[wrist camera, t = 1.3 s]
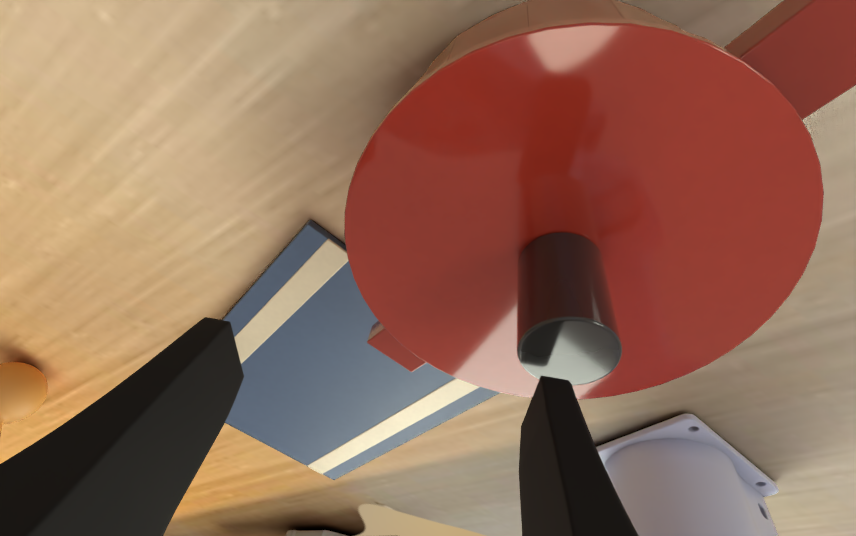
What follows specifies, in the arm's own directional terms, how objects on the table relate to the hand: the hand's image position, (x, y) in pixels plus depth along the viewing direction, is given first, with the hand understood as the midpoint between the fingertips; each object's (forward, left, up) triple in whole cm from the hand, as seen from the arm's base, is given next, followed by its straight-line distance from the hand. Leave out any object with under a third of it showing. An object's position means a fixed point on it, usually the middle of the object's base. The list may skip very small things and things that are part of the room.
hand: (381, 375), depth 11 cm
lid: (-3, -3, -5) cm, 6 cm away
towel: (-4, +15, -10) cm, 19 cm away
